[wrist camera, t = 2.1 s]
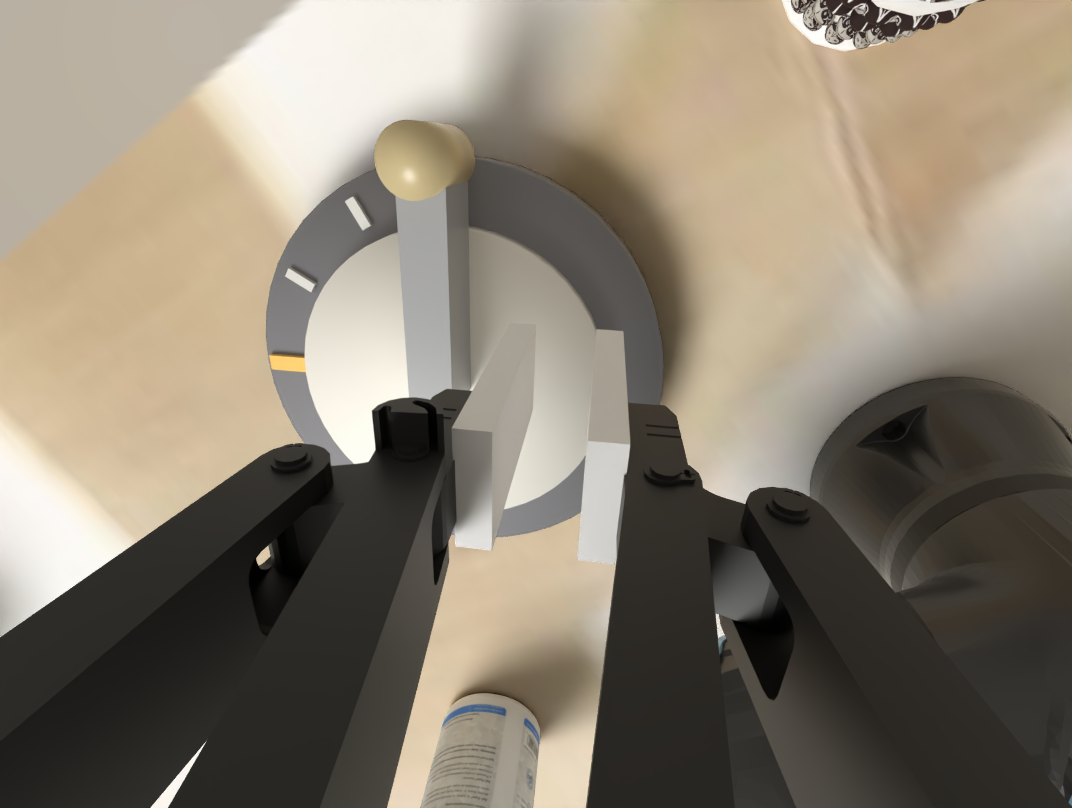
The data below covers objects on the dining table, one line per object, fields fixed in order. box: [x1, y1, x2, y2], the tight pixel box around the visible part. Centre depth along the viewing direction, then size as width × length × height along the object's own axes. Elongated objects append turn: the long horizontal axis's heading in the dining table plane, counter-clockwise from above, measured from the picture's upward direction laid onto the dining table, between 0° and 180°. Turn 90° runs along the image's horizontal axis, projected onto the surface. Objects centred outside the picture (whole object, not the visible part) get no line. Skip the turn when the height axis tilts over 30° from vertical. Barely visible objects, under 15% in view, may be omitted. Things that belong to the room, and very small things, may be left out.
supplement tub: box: [420, 693, 540, 808], centre depth 48 cm, size 10×10×15 cm
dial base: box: [266, 157, 664, 537], centre depth 37 cm, size 26×26×3 cm
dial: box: [305, 120, 597, 509], centre depth 32 cm, size 24×19×7 cm
